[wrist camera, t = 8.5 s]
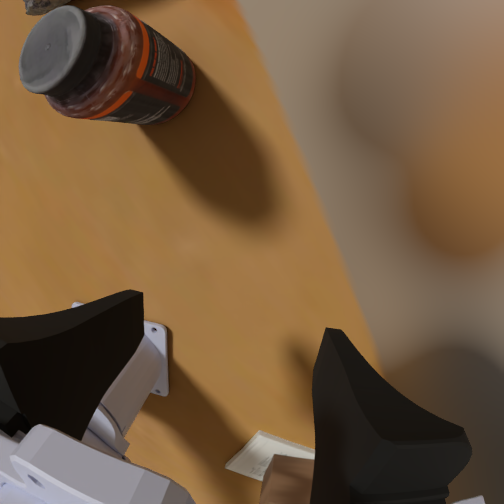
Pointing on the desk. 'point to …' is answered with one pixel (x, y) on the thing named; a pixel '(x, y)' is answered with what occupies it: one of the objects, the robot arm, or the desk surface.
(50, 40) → the supplement bottle
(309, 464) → the walnut block
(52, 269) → the desk surface
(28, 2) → the mineral rock
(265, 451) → the external hard drive
